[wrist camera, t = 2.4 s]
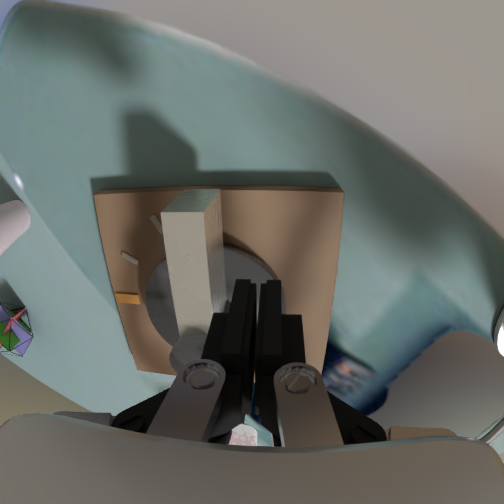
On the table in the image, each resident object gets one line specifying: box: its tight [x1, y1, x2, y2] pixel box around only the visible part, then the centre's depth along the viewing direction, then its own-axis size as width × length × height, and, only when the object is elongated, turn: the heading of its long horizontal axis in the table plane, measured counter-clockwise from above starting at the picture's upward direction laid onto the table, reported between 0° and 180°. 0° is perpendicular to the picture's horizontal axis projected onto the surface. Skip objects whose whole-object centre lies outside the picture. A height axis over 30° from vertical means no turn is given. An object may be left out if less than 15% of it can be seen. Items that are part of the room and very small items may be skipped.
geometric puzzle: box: [0, 302, 34, 357], centre depth 31 cm, size 7×7×8 cm
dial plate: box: [94, 185, 344, 382], centre depth 28 cm, size 20×20×2 cm
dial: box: [146, 189, 286, 373], centre depth 23 cm, size 16×12×7 cm
